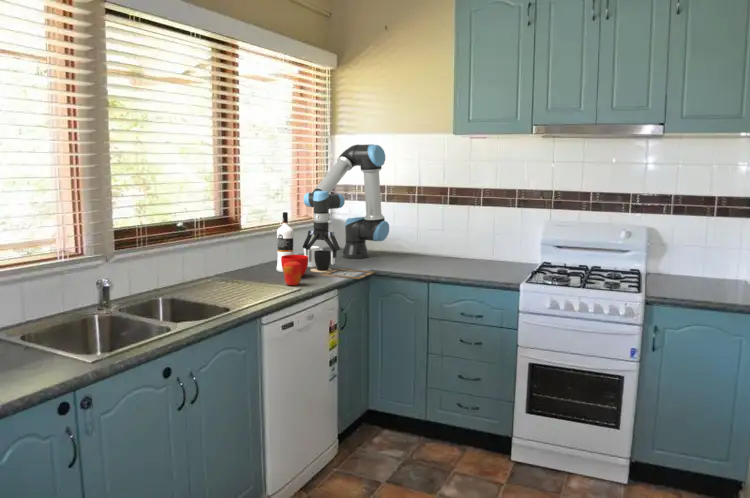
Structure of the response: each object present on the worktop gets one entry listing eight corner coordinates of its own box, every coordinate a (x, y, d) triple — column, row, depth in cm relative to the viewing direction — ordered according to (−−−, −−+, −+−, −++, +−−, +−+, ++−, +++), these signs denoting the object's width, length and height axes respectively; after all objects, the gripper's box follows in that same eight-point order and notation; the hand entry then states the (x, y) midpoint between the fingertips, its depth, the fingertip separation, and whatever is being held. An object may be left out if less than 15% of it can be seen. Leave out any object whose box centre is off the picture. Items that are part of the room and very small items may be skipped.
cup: (301, 265, 334) (300, 246, 333) (319, 263, 342) (319, 244, 340) (309, 267, 328) (309, 248, 326) (328, 265, 335) (328, 246, 334)
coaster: (317, 268, 327) (316, 266, 327) (335, 269, 322) (335, 268, 322) (306, 271, 317) (306, 270, 317) (325, 273, 312) (325, 272, 312)
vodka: (298, 271, 318) (298, 212, 314) (284, 273, 311) (284, 213, 307) (286, 268, 324) (286, 211, 320) (272, 271, 317) (271, 212, 313)
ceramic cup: (313, 273, 311) (313, 254, 310) (304, 280, 295) (303, 259, 293) (288, 272, 313) (288, 253, 312) (277, 279, 297) (277, 258, 295)
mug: (323, 266, 327) (323, 248, 326) (333, 270, 317) (333, 252, 315) (309, 268, 323) (309, 249, 322) (318, 271, 313) (318, 253, 311)
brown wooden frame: (338, 269, 324) (338, 268, 324) (375, 272, 316) (375, 271, 316) (320, 275, 307) (320, 274, 307) (359, 279, 299) (359, 278, 298)
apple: (280, 284, 285) (279, 258, 283) (296, 282, 290) (296, 257, 288) (288, 287, 278) (288, 261, 276) (305, 285, 283) (305, 259, 281)
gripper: (295, 221, 318) (296, 262, 321) (339, 223, 308) (339, 266, 311) (303, 219, 324) (303, 260, 327) (346, 222, 314) (346, 263, 318)
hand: (321, 263), depth 319 cm, fingers open, 13 cm apart
